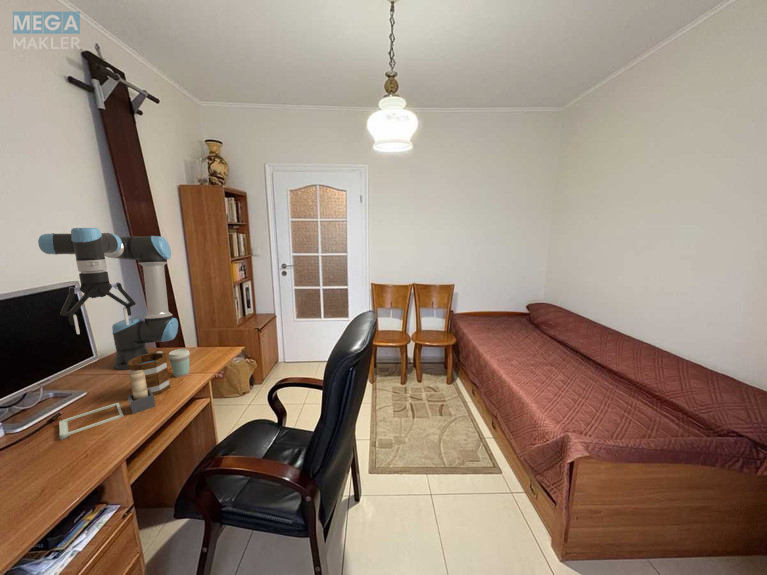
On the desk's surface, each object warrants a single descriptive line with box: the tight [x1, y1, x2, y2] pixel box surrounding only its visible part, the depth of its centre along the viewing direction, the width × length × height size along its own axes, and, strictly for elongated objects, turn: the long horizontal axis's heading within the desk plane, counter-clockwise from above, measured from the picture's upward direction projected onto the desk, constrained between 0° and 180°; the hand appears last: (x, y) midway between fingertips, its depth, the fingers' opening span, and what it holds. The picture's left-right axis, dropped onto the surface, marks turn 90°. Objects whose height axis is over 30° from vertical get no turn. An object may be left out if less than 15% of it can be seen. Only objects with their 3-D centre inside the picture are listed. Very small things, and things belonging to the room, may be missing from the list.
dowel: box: [128, 370, 148, 400], centre depth 116 cm, size 4×4×14 cm
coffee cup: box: [167, 348, 191, 378], centre depth 142 cm, size 8×8×12 cm
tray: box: [58, 402, 124, 441], centre depth 109 cm, size 12×16×1 cm
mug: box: [128, 350, 171, 397], centre depth 131 cm, size 20×14×15 cm
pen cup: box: [127, 389, 156, 415], centre depth 117 cm, size 7×7×6 cm
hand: (104, 328), depth 113 cm, fingers open, 13 cm apart
